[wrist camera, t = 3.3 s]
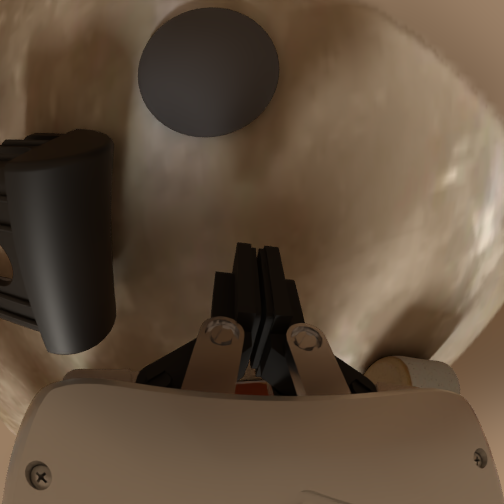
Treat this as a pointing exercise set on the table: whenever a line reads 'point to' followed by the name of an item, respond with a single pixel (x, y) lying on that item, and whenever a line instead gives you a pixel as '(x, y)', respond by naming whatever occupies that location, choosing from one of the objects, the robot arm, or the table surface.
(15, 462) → the robot arm
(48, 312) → the end cap
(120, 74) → the table surface
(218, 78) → the lens cap
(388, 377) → the ceramic mug
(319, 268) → the table surface
